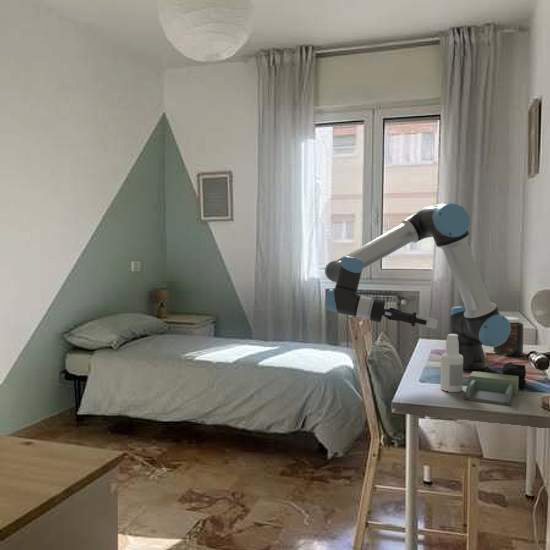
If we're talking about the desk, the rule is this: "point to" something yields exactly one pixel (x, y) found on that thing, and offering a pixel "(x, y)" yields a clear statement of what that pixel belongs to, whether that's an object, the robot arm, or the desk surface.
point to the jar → (512, 339)
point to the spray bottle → (452, 366)
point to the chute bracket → (492, 388)
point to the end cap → (516, 373)
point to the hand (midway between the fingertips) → (436, 324)
